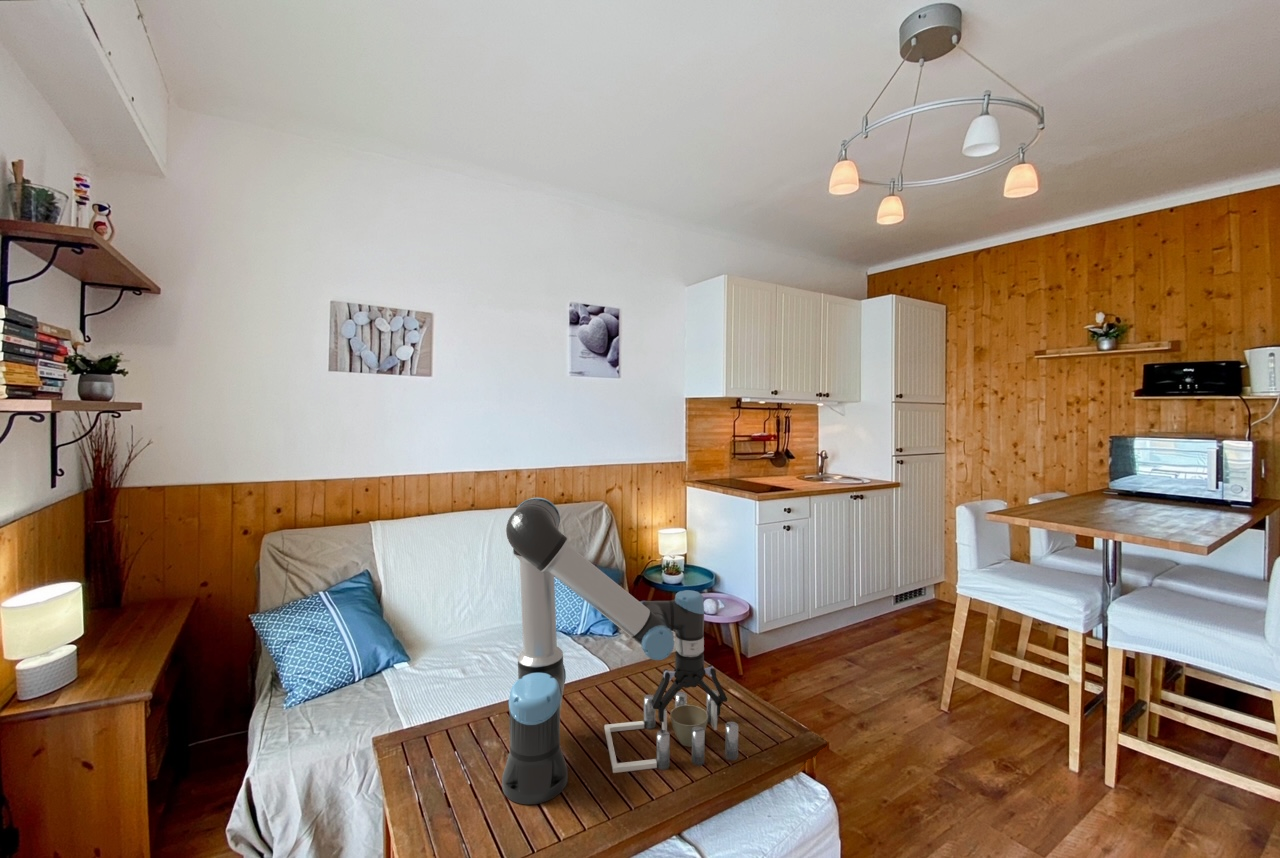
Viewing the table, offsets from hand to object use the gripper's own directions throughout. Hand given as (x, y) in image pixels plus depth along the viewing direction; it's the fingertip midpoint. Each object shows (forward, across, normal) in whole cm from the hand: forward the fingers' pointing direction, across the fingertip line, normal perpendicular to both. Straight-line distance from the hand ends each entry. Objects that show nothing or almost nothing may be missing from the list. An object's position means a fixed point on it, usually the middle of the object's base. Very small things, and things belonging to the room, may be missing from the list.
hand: (689, 729), depth 144 cm
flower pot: (+3, 0, 0) cm, 3 cm away
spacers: (+3, 0, 0) cm, 3 cm away
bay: (+3, -16, 0) cm, 16 cm away
